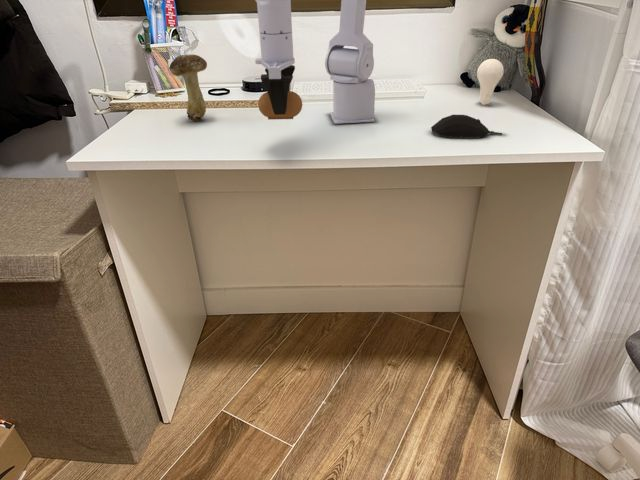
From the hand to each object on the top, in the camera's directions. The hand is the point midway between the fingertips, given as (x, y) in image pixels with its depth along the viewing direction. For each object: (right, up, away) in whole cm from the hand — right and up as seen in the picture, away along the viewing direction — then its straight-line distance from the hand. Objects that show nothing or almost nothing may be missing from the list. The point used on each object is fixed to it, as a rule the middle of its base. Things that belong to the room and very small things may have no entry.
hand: (281, 109), depth 84 cm
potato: (0, -1, +1) cm, 1 cm away
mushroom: (-22, +4, +22) cm, 31 cm away
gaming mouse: (+39, -2, +10) cm, 40 cm away
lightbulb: (+49, +9, +28) cm, 58 cm away
